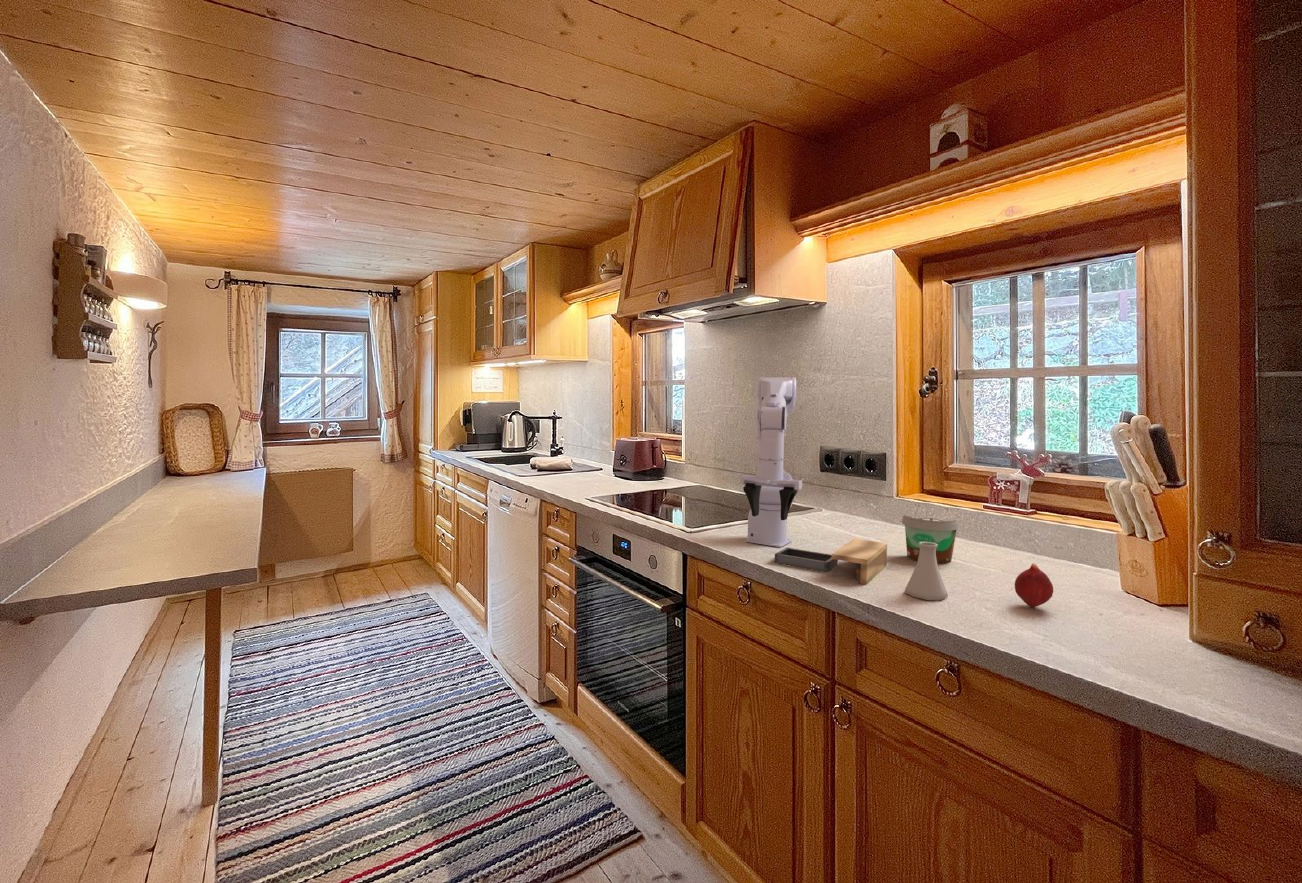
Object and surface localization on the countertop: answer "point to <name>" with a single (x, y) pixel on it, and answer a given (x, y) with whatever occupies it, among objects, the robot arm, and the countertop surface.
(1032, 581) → the onion
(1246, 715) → the countertop surface
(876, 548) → the pine shelf
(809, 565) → the dark grey drawer
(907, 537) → the food container
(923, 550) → the flask
